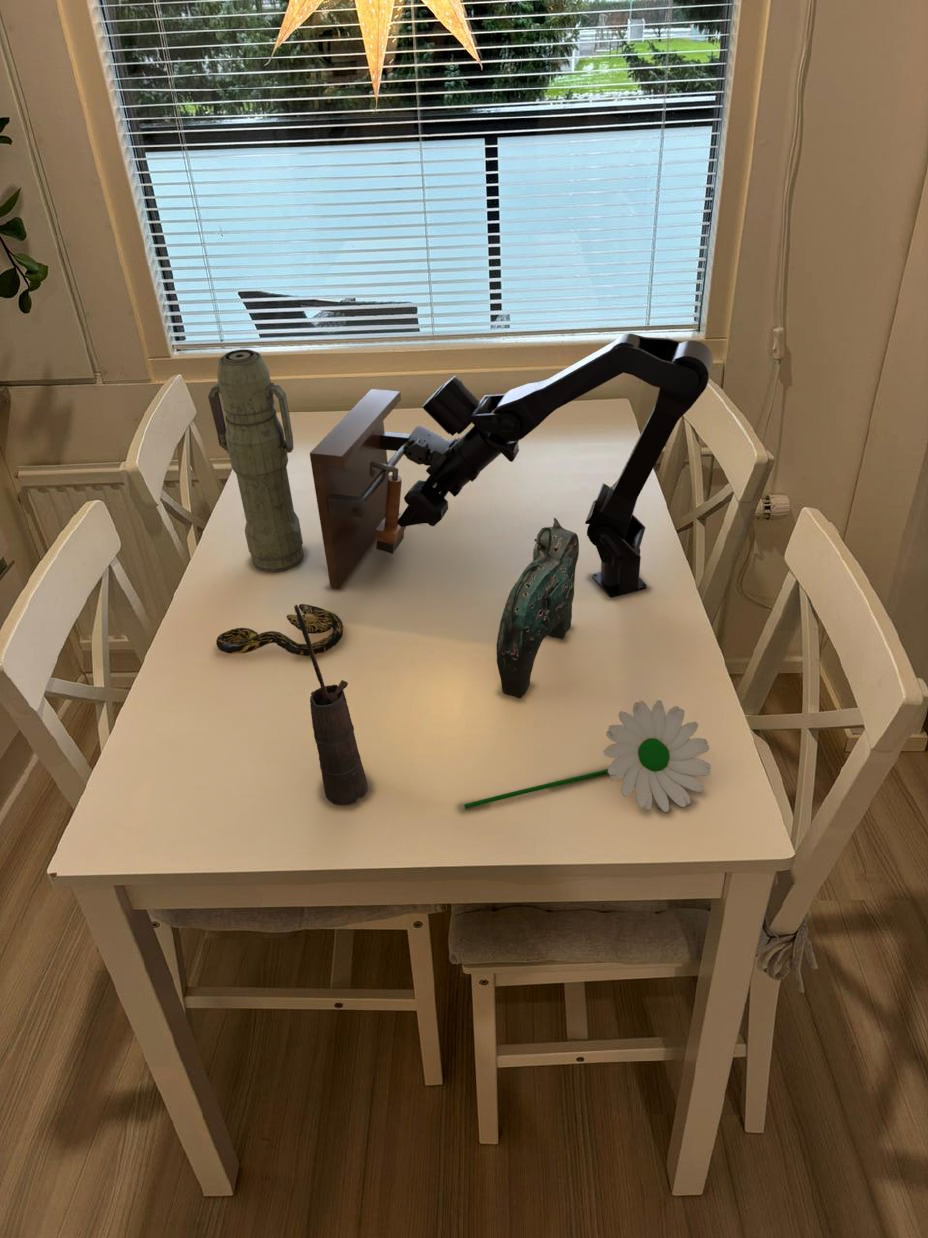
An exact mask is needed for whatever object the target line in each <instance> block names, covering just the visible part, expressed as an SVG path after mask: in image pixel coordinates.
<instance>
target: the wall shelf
mask: <svg viewBox="0 0 928 1238" xmlns="http://www.w3.org/2000/svg"><path fill="white" fill-rule="evenodd" d="M401 401H402V395H401V391H400V390H389V389H378V388H377V389H375V388H371V389H370V390H369V391H368V392H367V393H366V394H365V395H363V397H362V398H361V399H360V400H359V401H358V402H357V403H356V404H355V405H354V406H353V407H352V409H351V410H350V411H349V412H348V413H347V414H346V415H345V416H343V418H341V420H340V421H339V422H338V423H337V424H336V425H335V426H334V427H333V428H332V429H331V430H330V431H329V432H328V433H327V435H325V436H324V437H323V439H321V440H320V442H319V443H318V444H316V446H315V447H314V448H313V449H312V450H311V451H310V452H309V458H310V465H311V472H312V479H313V484H314V491H315V498H316V504H317V510H318V516H319V517H318V518H319V523H320V530H321V537H322V541H323V548H324V555H325V561H326V569H327V575H328V581H329V587H330V589H333V590H340V589H341V588H342V587H343V585H344V584H345V583H346V581H347V580H348V579H349V577H350V576H351V574H352V573H353V571H354V570H355V569H356V567H357V566H358V565H359V563H360V562H361V560H362V559H363V558H364V557H365V555H366V553H367V552H368V551H369V549H370V548H371V547H372V545H373V544H374V542H375V541H376V540H375V531H376V528H377V527H378V526H379V524H380V523H381V522H382V520H383V519H384V518H385V512H386V498H387V484H388V477H389V476H390V473H391V472H389V471H386V470H382V469H378V468H376V469H375V476H374V477H371V476H370V475H369V473H370V463H371V462H372V461H374V462H378V463H382V464H385V465H389V466H393V467H396V465H397V464H398V463H399V462H400V460H401V459H402V457H403V456H405V455H404V454H403V451H404V449H403V447H404V446H405V445H406V443H407V440H408V438H409V435H410V434H411V433H403V432H394V431H391V432H390V431H385V423H384V421H385V420H386V419H387V417H388V416H389V415H390V414H391V413H392V412H393V410H394V409H395V408H396V407H397V406H398V405H399V403H400V402H401ZM387 451H392V452H395V453H394V454H393V455H392V457H391V458H390V459H389V460H388V454H387Z"/></svg>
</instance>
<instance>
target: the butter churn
mask: <svg viewBox="0 0 928 1238" xmlns="http://www.w3.org/2000/svg"><path fill="white" fill-rule="evenodd" d="M293 607H294V608H293V609H294V612H295V615H297V619H298V622H299V625H300V628H301V630H302V631H301V630H300V631H301V634H302V636H303V639H304V643H305V644H306V645H307V648H308V651H309V654H310V656H309V657H310V660H311V663H312V667H313V669H314V672H315V675H316V678H317V681H318V682H319V686H320V687H319V688H317V689H315V690H314V691H311V693H310V697H309V704H310V715H311V723H312V724H311V725H312V729H313V737H314V741H315V744H316V749H317V753H318V760H319V769H320V771H321V779H322V785H323V790H324V795H325V798H326V799H327V801H329V802H330V803H331V804H333V805H336V806H346V805H347V806H348V805H353V804H356V803H357V801H358V799H359V798H364V797H365V796H366V795H367V793H368V791H369V784H368V783H369V782H368V779H367V776H366V772H365V769H364V765H363V762H362V759H361V754H360V752H359V748H358V743H357V740H356V736H355V727H354V724H353V722H352V718H351V713H350V710H349V709H350V708H349V705H348V702H347V698H346V694H345V691H344V690H345V689H346V688H347V687H348V685H349V683H348V682H347V681H346V680H343V679H341V681H340V682H339V683H338V684H331V685H330V684H328V685H325V682H324V678H323V674H322V673H321V669H320V665H319V664H318V663H319V662H318V660H317V657H316V655H315V654H314V651H313V647H312V641H311V638H310V635H309V634H310V633H308V631H307V628H306V625H305V622H304V620H303V618H302V615H303V614H302V612H301V610H300V609H299V605H298V604H295V605H294V606H293Z"/></svg>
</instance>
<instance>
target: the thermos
mask: <svg viewBox="0 0 928 1238" xmlns="http://www.w3.org/2000/svg"><path fill="white" fill-rule="evenodd" d="M217 368H218V369H217V376H216V378H217V384H215V385H214V386H213V387H211V390H210V392H209V394H208V396H207V399H208V402H209V406H210V410H211V414H212V418H213V421H214V427H215V430H216V434H217V439H218V445H219V446H220V447H221V448H222V449H223V450H224V451H225V452H227V454H228V458H229V461H230V466H231V469H232V471H233V472H234V473H235V475H236V479H237V483H238V484H237V485H238V488H239V494H240V499H241V504H242V509H243V513H244V518H245V527H244V534H245V539H246V543H247V548H248V552H249V554H251V563H252V566H253V567H254V568H255V569H256V570H258V571H260V572H264V573H273V574H274V573H283V572H286V571H289V570H292V569H294V568H296V567H298V566H299V565H300V564H301V563H302V562H303V561H304V558H305V554H304V553H305V552H304V549H303V544H304V541H303V536H302V529H301V523H300V518H299V516H298V515H297V513H296V511H295V508H294V503H293V497H292V496H293V495H292V492H291V491H292V490H291V486H290V485H291V484H290V480H289V474H288V468H287V466H288V463H289V456H288V453H292V452H293V450H294V436H293V429H292V423H291V417H290V411H289V404H288V400H287V393H286V392H285V391H284V390H283V388H282V387H281V386H280V385H277V384H275V383H274V382H272V380H271V375H270V370H269V367H268V366H267V364H266V362H265V360H264V358H263V357H262V354H261V353H259V352H258V351H255V350H252V349H247V348H245V349H244V348H243V349H241V348H240V349H235V350H231V351H229V352H226V353H225V354H223V355H222V356H220V358H219V360H218V367H217ZM274 396H275V397H276V398H277V399H278V405H279V410H280V416H281V421H280V419H279V418H278V416H277V410H276V409H275V406H274V405H275V399H274ZM223 411H224V412H225V417H224V413H223Z"/></svg>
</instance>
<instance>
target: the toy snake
mask: <svg viewBox="0 0 928 1238" xmlns="http://www.w3.org/2000/svg"><path fill="white" fill-rule="evenodd" d="M298 608H299V610H300V612H301V615H302V618H303V620H304V622H305V625H306V628H307V631H308V634H311V635H314V634H323V633H326V632H328V631H330V630H331V629H332V633H330V634H329V635H328V636H327V637H323V638H322V639H320V640H318V641H315V642H311V644H312V647H313V651H314V654H315V656H316V655H319V654H323V653H327V652H328V651H330V650H331V649H332V648H333V647H335V646H337V644H338V643H339V642H340V641H341V639H343V636H344V624H343V621H342V619H341V618H340V617H339V616H338V615H337V614H336V613H333V612H332V611H329V610H327V609H324V608H322V607H319V606H315V605H311V604H306V603H300V604H299V605H298ZM286 619H287V621H288V622H289V623H290V625H292V626H294V627H295V629H297V630H299V631H300V632H302V630H301V628H300V625H299V622H298V619H297V614H291V613H290V614H287V615H286ZM215 644H216V646H217V648H218V650H219V651H221V652H223V653H226V654H232V655H238V654H246V653H250V652H254V651H256V650H258V649H259V648H262V647H264V646H266V645H270V644H276V646H277V647H280V648H281V649H284V651H286V652H287V653H289V654H292V655H296V656H301V657H310V654H309V651H308V648H307V645H306V643H299V642H296V641H294V640H293V639H292V638H290V637H289V636H287V635H286V634H283V633H282V632H279V631H276V630H275V631H274V630H270V631H269V630H268V631H264V632H261V633H258V632H257V631H255V630H254V629H251V628H249V627H236V628H232V629H230V630H226V631H224V632H222V633H220V635H218V636H217V638H216V643H215Z"/></svg>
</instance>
